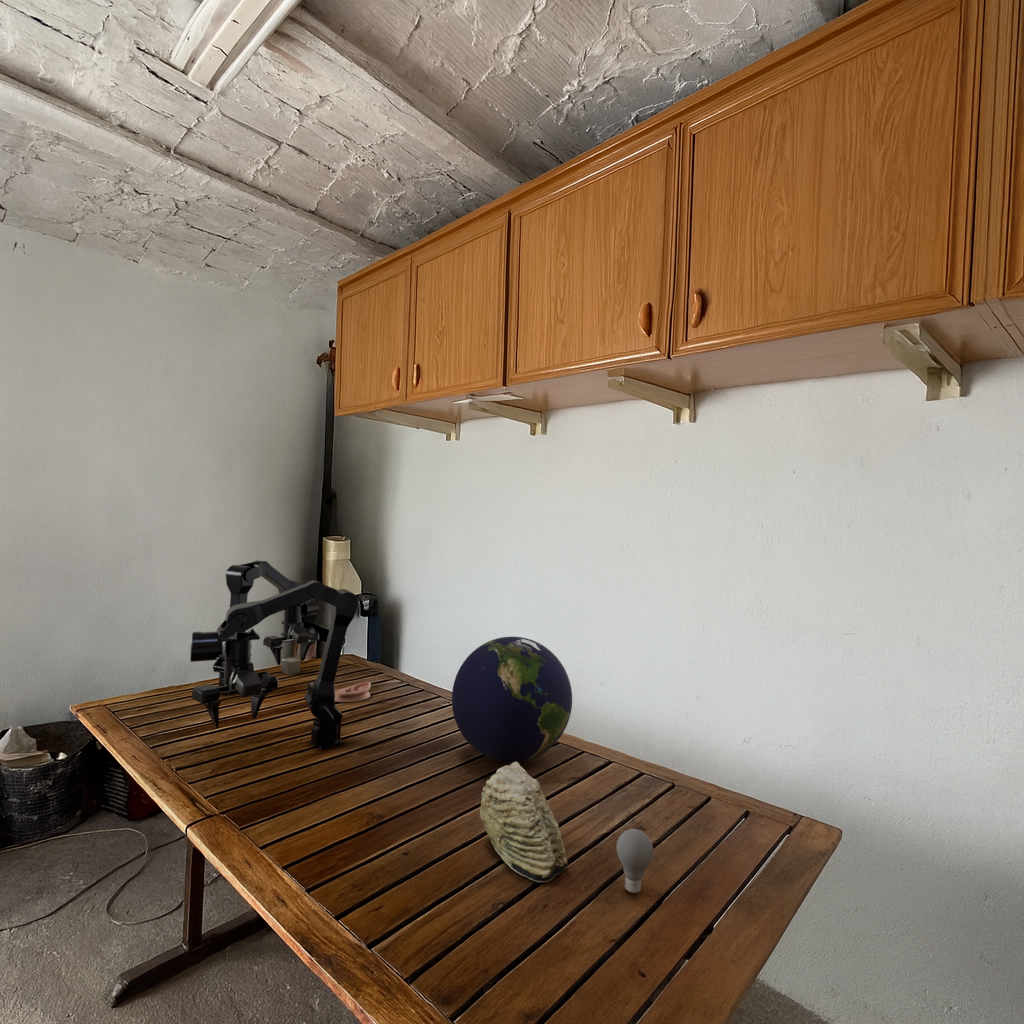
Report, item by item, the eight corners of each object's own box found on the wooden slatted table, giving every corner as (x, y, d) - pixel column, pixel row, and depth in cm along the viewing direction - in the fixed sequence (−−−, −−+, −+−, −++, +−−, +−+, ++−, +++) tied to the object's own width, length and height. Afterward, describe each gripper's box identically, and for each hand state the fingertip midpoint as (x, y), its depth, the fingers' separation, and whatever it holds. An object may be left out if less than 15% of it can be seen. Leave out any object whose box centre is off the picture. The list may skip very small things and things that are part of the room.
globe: (497, 727, 179) (502, 621, 178) (591, 755, 161) (596, 638, 161) (424, 759, 155) (429, 637, 154) (524, 797, 137) (530, 659, 137)
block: (281, 672, 224) (281, 659, 224) (292, 669, 228) (293, 657, 228) (288, 674, 221) (288, 662, 221) (300, 672, 225) (300, 659, 225)
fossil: (501, 827, 124) (504, 751, 124) (575, 868, 111) (578, 784, 111) (467, 843, 118) (470, 763, 118) (541, 889, 105) (545, 799, 105)
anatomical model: (319, 687, 195) (337, 677, 207) (319, 699, 195) (336, 689, 207) (359, 691, 193) (375, 681, 204) (359, 704, 193) (374, 693, 204)
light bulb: (610, 879, 108) (613, 822, 108) (644, 879, 109) (647, 822, 109) (619, 902, 102) (622, 840, 102) (655, 901, 103) (658, 840, 103)
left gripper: (280, 625, 212) (278, 672, 212) (328, 619, 226) (326, 662, 226) (263, 620, 219) (261, 665, 219) (311, 614, 233) (309, 656, 233)
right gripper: (214, 672, 140) (211, 742, 140) (291, 658, 154) (289, 722, 154) (192, 662, 147) (189, 729, 147) (267, 650, 161) (265, 710, 161)
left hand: (290, 662), depth 224 cm, fingers open, 9 cm apart
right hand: (235, 722), depth 152 cm, fingers open, 9 cm apart
